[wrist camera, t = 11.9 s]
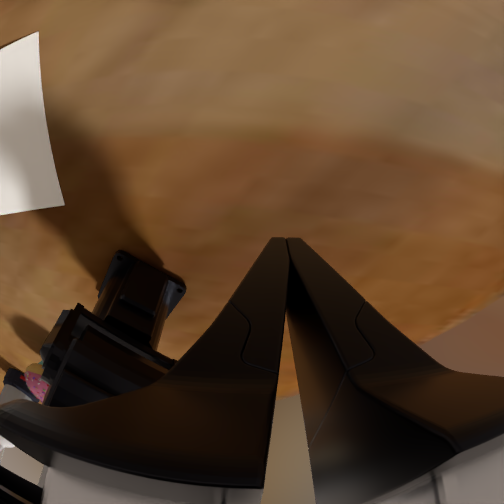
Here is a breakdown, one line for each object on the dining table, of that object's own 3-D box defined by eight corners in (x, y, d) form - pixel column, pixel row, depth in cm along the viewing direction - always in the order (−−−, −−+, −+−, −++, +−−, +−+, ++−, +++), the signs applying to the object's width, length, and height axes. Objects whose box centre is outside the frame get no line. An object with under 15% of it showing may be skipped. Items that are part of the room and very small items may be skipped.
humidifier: (33, 376, 38) (-8, 496, 18) (48, 398, 43) (16, 505, 23) (1, 362, 38) (-41, 472, 17) (18, 385, 42) (-17, 485, 22)
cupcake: (84, 384, 37) (62, 453, 27) (36, 357, 34) (8, 423, 24) (95, 363, 33) (68, 445, 23) (39, 331, 30) (2, 409, 20)
